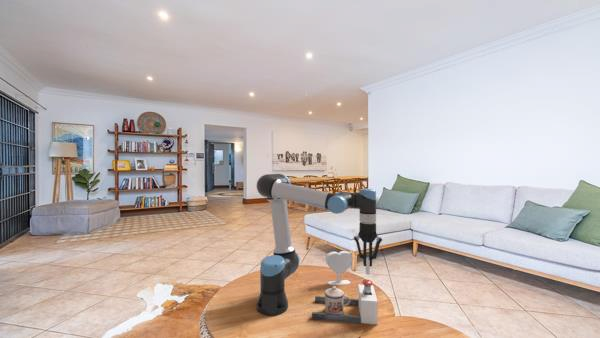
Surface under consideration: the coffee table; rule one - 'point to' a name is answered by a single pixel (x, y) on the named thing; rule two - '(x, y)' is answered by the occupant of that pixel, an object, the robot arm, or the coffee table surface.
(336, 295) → the teacup with lid
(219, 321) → the coffee table surface
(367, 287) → the red knob
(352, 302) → the pair of grey rails
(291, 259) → the robot arm
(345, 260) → the heart sculpture
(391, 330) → the coffee table surface
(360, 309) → the end cabinet
